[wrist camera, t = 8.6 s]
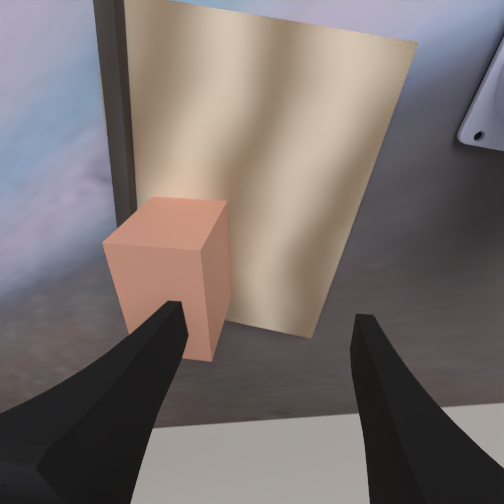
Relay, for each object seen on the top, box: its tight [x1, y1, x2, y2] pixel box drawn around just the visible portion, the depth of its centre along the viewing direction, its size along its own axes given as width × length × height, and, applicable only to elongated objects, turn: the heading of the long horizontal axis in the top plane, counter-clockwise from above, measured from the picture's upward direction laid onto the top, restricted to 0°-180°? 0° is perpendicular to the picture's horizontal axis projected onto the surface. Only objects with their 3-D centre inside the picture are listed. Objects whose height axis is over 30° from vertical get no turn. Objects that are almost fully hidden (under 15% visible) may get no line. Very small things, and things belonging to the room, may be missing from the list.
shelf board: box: [93, 0, 419, 338], centre depth 20 cm, size 15×20×2 cm
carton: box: [102, 196, 231, 362], centre depth 20 cm, size 5×8×6 cm, turn 0°
